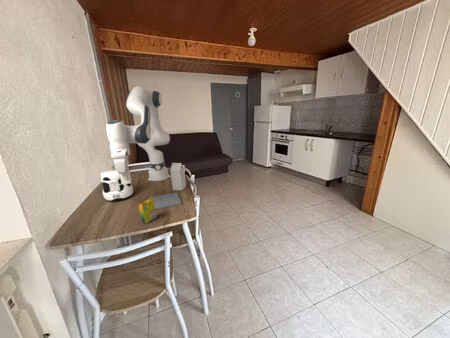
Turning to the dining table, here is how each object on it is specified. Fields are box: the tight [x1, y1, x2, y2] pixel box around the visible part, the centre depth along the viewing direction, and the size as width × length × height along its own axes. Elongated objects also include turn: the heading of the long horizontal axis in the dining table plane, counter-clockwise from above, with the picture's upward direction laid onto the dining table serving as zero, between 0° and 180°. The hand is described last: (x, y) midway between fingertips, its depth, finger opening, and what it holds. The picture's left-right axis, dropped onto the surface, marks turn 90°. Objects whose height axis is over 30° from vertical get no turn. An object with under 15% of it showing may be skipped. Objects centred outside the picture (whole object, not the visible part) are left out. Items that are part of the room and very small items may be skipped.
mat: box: [148, 191, 182, 211], centre depth 116 cm, size 18×18×1 cm
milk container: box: [100, 168, 134, 202], centre depth 123 cm, size 17×17×18 cm
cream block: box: [120, 166, 133, 184], centre depth 102 cm, size 4×4×8 cm
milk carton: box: [169, 162, 187, 191], centre depth 134 cm, size 7×7×19 cm
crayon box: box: [138, 196, 158, 225], centre depth 94 cm, size 7×3×12 cm, turn 155°
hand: (125, 177), depth 103 cm, fingers closed on cream block, 4 cm apart
